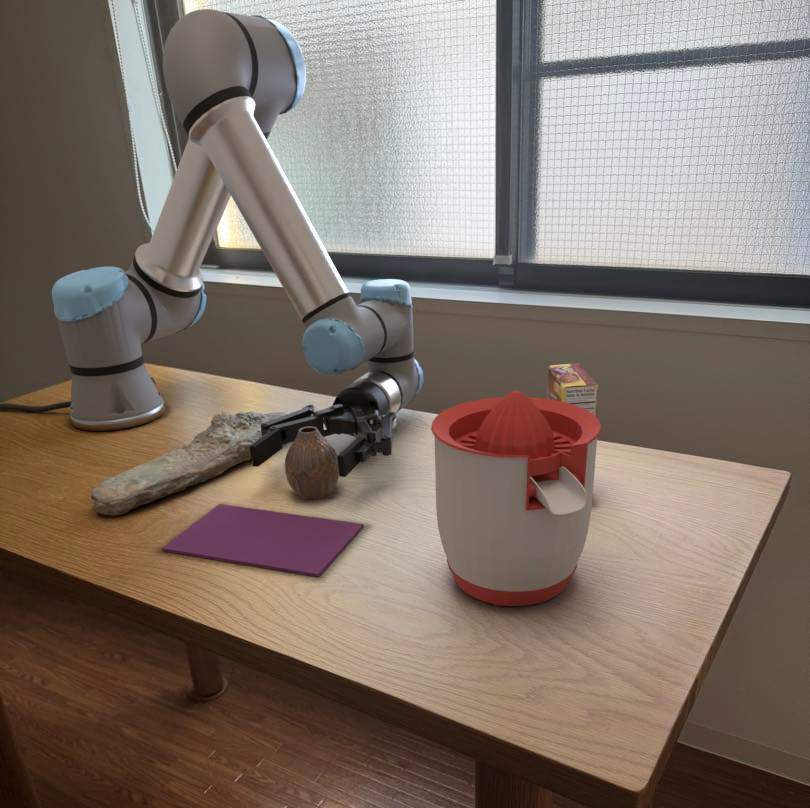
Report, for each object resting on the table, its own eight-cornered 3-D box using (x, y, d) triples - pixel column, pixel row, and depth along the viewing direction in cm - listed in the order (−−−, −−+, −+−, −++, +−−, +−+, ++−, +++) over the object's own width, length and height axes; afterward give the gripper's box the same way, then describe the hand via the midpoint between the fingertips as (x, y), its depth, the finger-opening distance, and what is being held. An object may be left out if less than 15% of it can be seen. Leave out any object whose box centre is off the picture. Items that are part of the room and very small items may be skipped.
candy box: (542, 478, 101) (547, 363, 93) (574, 476, 101) (582, 362, 93) (556, 508, 93) (563, 385, 86) (591, 506, 93) (601, 383, 86)
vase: (319, 477, 104) (312, 416, 100) (352, 491, 100) (347, 427, 95) (277, 494, 100) (269, 430, 96) (310, 509, 95) (303, 443, 91)
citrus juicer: (489, 648, 69) (492, 439, 59) (411, 562, 83) (403, 382, 73) (631, 604, 74) (655, 405, 64) (535, 530, 88) (542, 358, 78)
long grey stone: (77, 516, 100) (126, 538, 95) (66, 480, 97) (116, 501, 92) (265, 421, 123) (312, 435, 118) (261, 390, 120) (309, 403, 115)
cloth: (162, 551, 88) (161, 548, 87) (220, 506, 97) (219, 503, 97) (318, 577, 81) (318, 574, 81) (363, 526, 91) (363, 523, 91)
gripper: (444, 436, 109) (387, 500, 92) (297, 422, 117) (218, 479, 99) (443, 385, 106) (384, 441, 88) (291, 374, 114) (209, 424, 96)
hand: (296, 461), depth 94 cm, fingers open, 11 cm apart
